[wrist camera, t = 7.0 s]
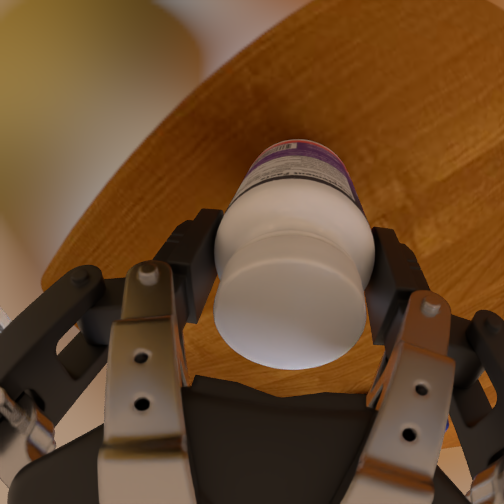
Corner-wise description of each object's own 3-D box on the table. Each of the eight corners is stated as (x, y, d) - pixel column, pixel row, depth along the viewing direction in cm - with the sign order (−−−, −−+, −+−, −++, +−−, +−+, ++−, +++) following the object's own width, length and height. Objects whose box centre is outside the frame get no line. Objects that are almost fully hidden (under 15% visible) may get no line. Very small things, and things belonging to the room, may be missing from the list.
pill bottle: (332, 243, 17) (343, 395, 9) (239, 219, 17) (182, 359, 9) (364, 153, 14) (431, 266, 6) (259, 125, 14) (193, 204, 6)
